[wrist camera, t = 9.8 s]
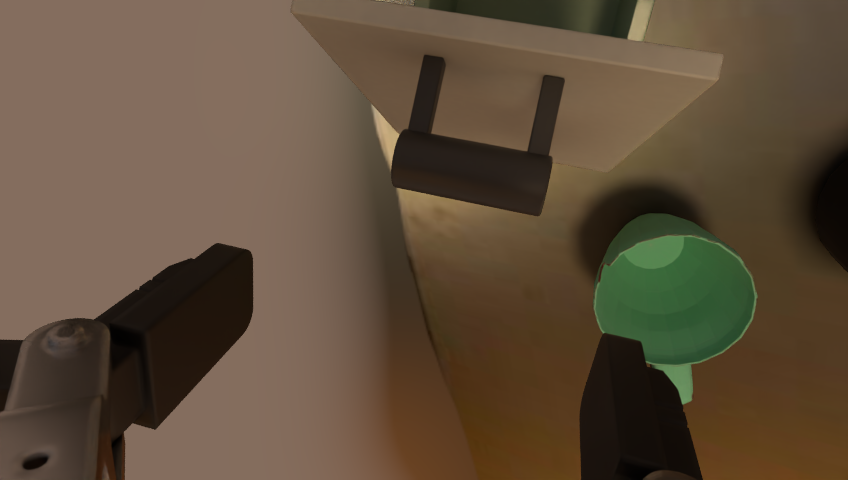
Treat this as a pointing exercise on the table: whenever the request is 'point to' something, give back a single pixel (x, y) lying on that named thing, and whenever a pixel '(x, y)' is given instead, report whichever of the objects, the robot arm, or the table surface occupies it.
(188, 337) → the robot arm
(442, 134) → the box lid
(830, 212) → the coffee jar
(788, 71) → the table surface
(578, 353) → the table surface
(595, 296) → the mug
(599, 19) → the pale green hollow box
